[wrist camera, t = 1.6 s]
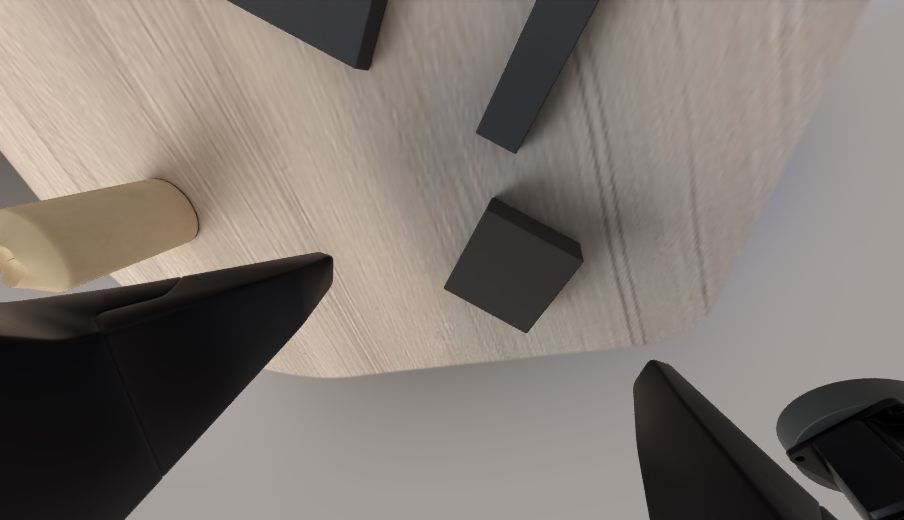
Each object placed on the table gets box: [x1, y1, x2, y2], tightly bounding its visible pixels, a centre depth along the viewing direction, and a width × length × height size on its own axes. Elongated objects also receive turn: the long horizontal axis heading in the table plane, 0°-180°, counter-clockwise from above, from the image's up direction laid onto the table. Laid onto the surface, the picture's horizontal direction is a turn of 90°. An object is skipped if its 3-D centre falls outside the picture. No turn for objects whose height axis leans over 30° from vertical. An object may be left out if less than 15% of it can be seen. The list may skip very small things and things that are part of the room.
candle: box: [0, 179, 198, 292], centre depth 23 cm, size 6×6×10 cm
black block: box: [444, 198, 584, 333], centre depth 20 cm, size 6×6×2 cm
